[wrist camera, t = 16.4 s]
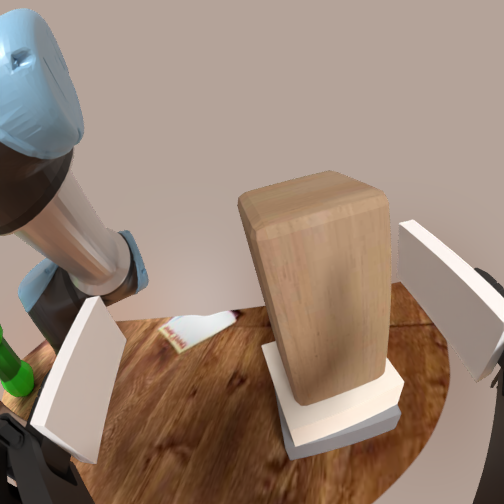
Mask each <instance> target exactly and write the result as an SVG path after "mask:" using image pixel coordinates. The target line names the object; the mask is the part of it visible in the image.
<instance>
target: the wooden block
mask: <svg viewBox="0 0 504 504" xmlns="http://www.w3.org/2000/svg"><path fill="white" fill-rule="evenodd" d="M237 206H238V209H239V213H240V217H241V220H242V224H243V227H244V231H245V234H246V238H247V241H248V245H249V248H250V252H251V255H252V259H253V263H254V266H255V270H256V273H257V277H258V280H259V284H260V287H261V291H262V294H263V298H264V302H265V305H266V309H267V312H268V316H269V319H270V323H271V326H272V330H273V333H274V337H275V340H276V344H277V348H278V351H279V354H280V357H281V360H282V363H283V366H284V369H285V372H286V375H287V378H288V381H289V384H290V387H291V390H292V393H293V396H294V399H295V401H296V402H297V403H298V404H299V405H301V406H308V405H311V404H314V403H317V402H320V401H323V400H325V399H328V398H331V397H334V396H336V395H339V394H342V393H344V392H347V391H349V390H352V389H354V388H357V387H359V386H362V385H364V384H366V383H369V382H371V381H373V380H376V379H378V378H379V377H381V376H382V375H383V374H384V372H385V366H386V357H387V347H388V336H389V322H390V303H391V233H390V215H389V203H388V200H387V198H386V195H385V194H384V192H383V191H381V190H379V189H377V188H375V187H372V186H370V185H367V184H365V183H363V182H360V181H358V180H355V179H353V178H350V177H348V176H345V175H343V174H340V173H338V172H334V171H325V172H321V173H316V174H312V175H308V176H304V177H300V178H296V179H292V180H288V181H285V182H281V183H277V184H273V185H269V186H266V187H262V188H258V189H255V190H251V191H248V192H245V193H244V194H242V195H241V196H240V197H239V198H238V205H237Z"/></svg>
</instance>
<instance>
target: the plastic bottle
mask: <svg viewBox="0 0 504 504" xmlns="http://www.w3.org/2000/svg"><path fill="white" fill-rule="evenodd" d="M0 380H1V383H2V385H3V387H4V389H5V390H6V391H7V392H9V393H10V394H11V395H13V396H15V397H20V396H27V395H28V394H29V393H30V392H31V391H32V389H33V387H34V376H33V370H32V368H31V366H30V365H29V364H28V363H26V362H24V361H22V360H20V358H19V357H18V356H17V355H16V353H15V352H14V351H13V350H12V348H11V347H10V346H9V344H8V343H7V342H6V340H5V339H4V338H3V330H2V327H1V325H0Z"/></svg>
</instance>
